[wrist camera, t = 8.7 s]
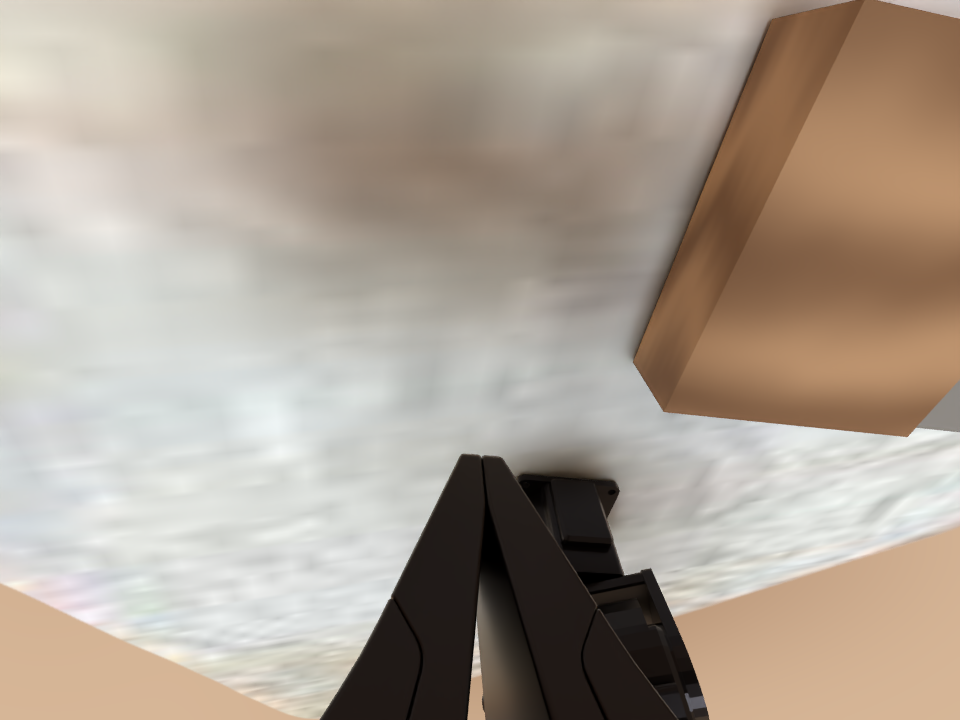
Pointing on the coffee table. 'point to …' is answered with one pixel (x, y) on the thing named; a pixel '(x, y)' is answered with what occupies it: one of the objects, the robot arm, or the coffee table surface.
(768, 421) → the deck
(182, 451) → the coffee table surface
